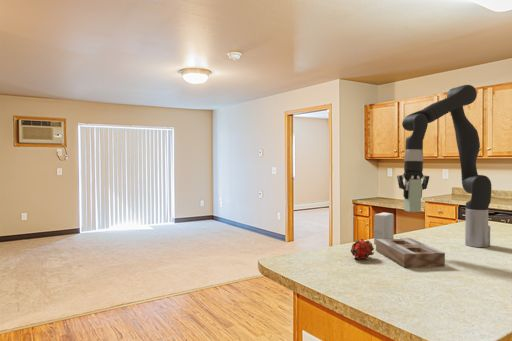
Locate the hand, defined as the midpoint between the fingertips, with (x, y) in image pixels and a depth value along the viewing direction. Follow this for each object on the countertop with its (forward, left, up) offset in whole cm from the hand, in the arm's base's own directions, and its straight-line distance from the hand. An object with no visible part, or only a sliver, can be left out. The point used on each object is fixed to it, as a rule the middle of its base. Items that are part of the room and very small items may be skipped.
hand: (412, 198), depth 160 cm
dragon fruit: (+26, +9, -24) cm, 36 cm away
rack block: (+7, +10, -23) cm, 26 cm away
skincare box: (+6, -15, -24) cm, 29 cm away
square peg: (0, 0, -5) cm, 5 cm away
